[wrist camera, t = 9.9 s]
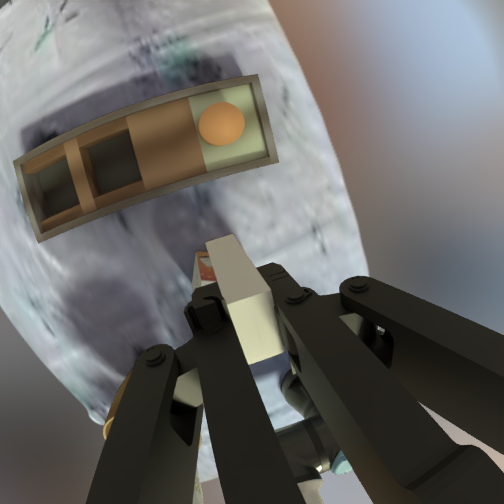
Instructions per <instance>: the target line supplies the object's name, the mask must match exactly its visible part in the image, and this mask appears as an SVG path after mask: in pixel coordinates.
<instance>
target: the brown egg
mask: <svg viewBox="0 0 504 504" xmlns="http://www.w3.org/2000/svg"><path fill="white" fill-rule="evenodd" d="M244 126H245V121H244V117H243V114H242V112H241V111H240V110H239V109H238V108H237V107H236V106H234V105H233V104H230V103H227V102H218V103H214V104H212V105H210V106H209V107H207V108H206V109H205V111H204V112H203V113H202V115H201V117H200V119H199V121H198V133H199V136H200V137H201V139H202V140H203V141H204V142H206V143H207V144H209V145H212V146H223V145H227V144H230V143H233V142H234V141H236V140H237V139H238V138H239V137H240V136H241V134H242V133H243V130H244Z"/></svg>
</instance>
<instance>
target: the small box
mask: <svg viewBox="0 0 504 504" xmlns="http://www.w3.org/2000/svg"><path fill="white" fill-rule="evenodd" d="M214 282H217V279H216V275H215V272H214V269H213V266H212V263H211V260H210V257H209V253H208V252H200V251H196V254H195V262H194V270H193V279H192V288H193V292H194V290H195V288H198V287H201V286H204V285H208V284H211V283H214Z"/></svg>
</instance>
